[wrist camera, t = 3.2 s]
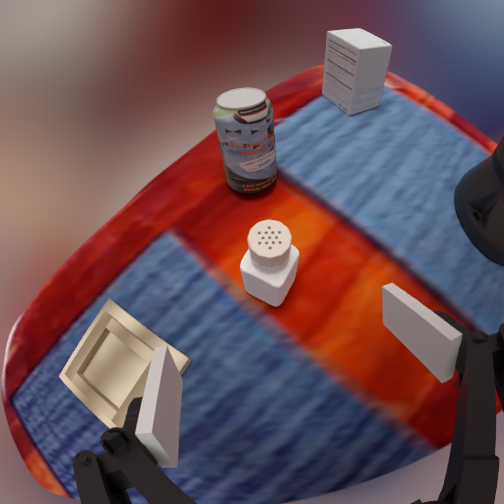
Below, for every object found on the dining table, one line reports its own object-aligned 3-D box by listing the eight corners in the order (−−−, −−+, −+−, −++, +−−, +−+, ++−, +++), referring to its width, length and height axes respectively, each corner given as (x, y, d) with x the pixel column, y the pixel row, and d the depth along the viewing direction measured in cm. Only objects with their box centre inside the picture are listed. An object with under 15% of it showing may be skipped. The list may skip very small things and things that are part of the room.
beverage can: (239, 208, 35) (226, 128, 24) (216, 168, 38) (200, 92, 27) (287, 189, 35) (291, 108, 25) (260, 151, 39) (255, 75, 28)
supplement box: (350, 86, 46) (360, 27, 35) (379, 107, 43) (394, 45, 32) (320, 94, 45) (325, 30, 34) (348, 117, 42) (361, 48, 30)
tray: (191, 359, 27) (185, 356, 25) (135, 444, 23) (124, 447, 21) (114, 301, 30) (103, 294, 28) (65, 377, 26) (52, 375, 24)
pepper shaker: (243, 292, 30) (231, 247, 21) (262, 260, 31) (258, 207, 23) (278, 310, 29) (281, 272, 20) (296, 277, 30) (306, 227, 22)
